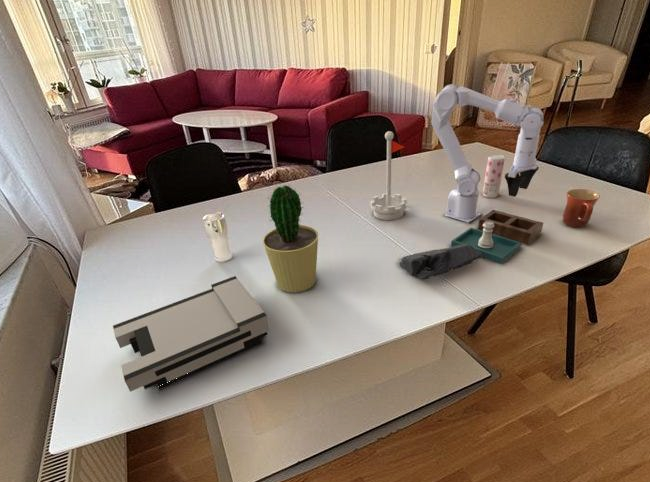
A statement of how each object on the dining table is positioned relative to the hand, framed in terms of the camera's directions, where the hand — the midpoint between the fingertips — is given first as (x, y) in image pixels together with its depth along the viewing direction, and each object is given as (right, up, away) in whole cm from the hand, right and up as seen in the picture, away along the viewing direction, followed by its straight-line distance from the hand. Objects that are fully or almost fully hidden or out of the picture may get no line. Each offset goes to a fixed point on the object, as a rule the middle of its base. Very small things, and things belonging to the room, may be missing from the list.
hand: (517, 192), depth 128 cm
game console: (-96, -44, -31) cm, 110 cm away
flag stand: (-38, -4, +20) cm, 44 cm away
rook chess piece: (-14, -18, -7) cm, 24 cm away
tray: (-14, -18, -7) cm, 24 cm away
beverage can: (+2, +4, +25) cm, 25 cm away
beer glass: (-97, -21, +4) cm, 99 cm away
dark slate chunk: (-29, -24, -13) cm, 40 cm away
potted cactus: (-72, -29, -12) cm, 78 cm away
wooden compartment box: (-3, -13, 0) cm, 13 cm away
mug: (+18, -11, -1) cm, 21 cm away
